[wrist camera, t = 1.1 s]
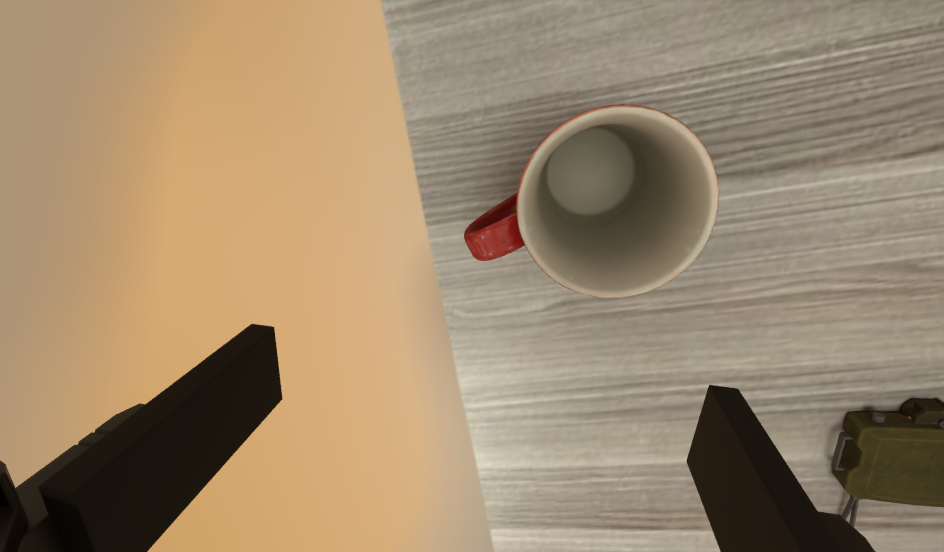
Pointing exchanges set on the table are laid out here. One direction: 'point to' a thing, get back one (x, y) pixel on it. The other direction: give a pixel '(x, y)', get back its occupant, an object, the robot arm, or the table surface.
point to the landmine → (893, 456)
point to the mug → (608, 203)
